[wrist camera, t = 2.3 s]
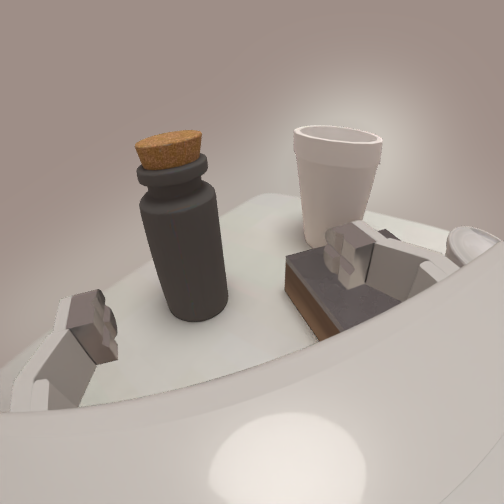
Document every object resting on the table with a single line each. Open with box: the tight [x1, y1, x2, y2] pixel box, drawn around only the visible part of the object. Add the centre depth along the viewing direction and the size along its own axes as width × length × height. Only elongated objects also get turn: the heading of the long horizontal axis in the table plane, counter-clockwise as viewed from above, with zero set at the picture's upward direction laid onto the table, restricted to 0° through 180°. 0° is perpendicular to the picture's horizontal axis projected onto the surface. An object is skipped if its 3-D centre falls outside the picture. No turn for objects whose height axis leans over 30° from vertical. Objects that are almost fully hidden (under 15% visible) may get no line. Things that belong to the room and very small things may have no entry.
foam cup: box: [294, 126, 382, 249], centre depth 30 cm, size 10×9×13 cm
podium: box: [285, 229, 402, 341], centre depth 22 cm, size 12×12×4 cm
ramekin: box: [445, 226, 502, 268], centre depth 22 cm, size 11×11×5 cm
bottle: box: [135, 130, 228, 321], centre depth 22 cm, size 6×6×15 cm
